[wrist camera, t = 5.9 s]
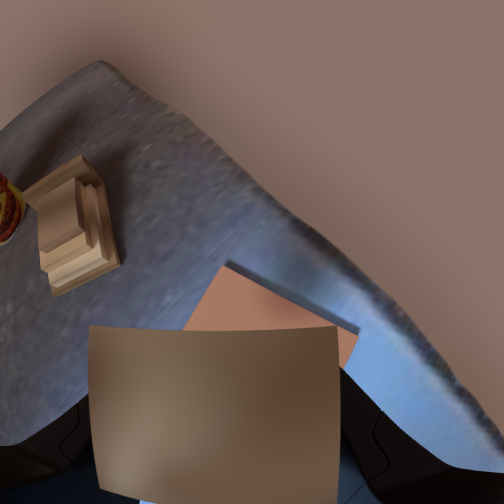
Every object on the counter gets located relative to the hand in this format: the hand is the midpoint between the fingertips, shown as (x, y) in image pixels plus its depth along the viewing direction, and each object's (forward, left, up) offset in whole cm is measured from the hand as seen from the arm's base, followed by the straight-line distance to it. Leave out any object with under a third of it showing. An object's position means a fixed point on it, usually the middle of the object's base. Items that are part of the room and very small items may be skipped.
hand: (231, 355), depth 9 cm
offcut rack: (+20, 0, -13) cm, 24 cm away
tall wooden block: (-1, +1, -7) cm, 7 cm away
